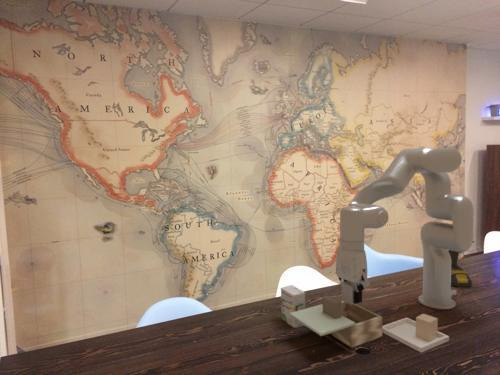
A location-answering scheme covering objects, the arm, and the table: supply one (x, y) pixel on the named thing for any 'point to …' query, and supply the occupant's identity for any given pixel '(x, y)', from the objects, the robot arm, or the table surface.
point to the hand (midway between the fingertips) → (351, 299)
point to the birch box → (359, 325)
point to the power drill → (458, 272)
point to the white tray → (411, 335)
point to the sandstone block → (426, 327)
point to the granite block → (348, 292)
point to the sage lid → (323, 317)
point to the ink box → (291, 304)
